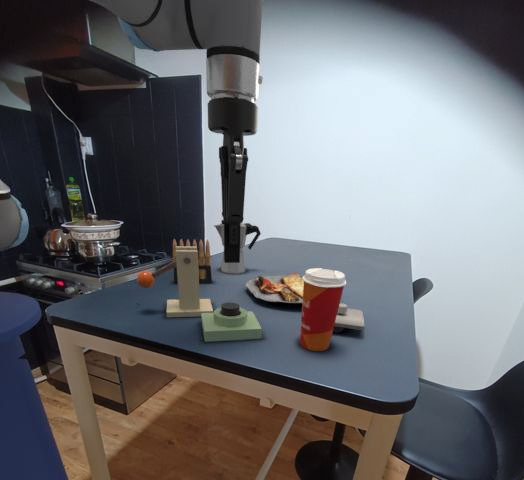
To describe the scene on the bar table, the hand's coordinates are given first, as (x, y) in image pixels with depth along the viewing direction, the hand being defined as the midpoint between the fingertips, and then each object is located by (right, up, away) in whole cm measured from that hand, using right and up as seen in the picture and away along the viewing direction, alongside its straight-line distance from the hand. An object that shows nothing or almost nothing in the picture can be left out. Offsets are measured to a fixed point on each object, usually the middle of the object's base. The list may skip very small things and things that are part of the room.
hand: (231, 261), depth 58 cm
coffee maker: (-3, +10, +48) cm, 49 cm away
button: (-1, -9, +5) cm, 10 cm away
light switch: (+23, -11, +12) cm, 28 cm away
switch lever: (-14, 0, +10) cm, 18 cm away
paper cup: (+16, -15, +3) cm, 22 cm away
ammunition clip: (-14, +3, +34) cm, 37 cm away
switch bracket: (-11, -7, +15) cm, 20 cm away
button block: (-1, -12, +7) cm, 14 cm away
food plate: (+13, -1, +29) cm, 32 cm away
